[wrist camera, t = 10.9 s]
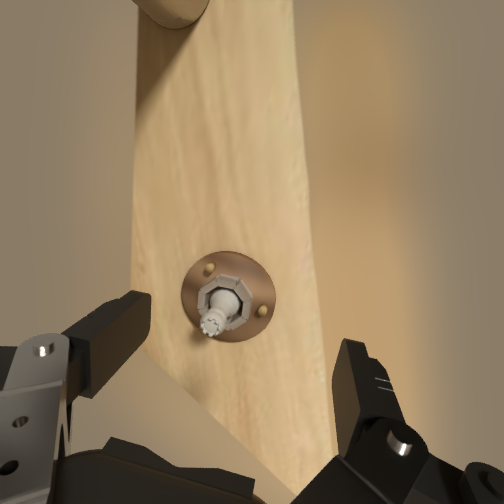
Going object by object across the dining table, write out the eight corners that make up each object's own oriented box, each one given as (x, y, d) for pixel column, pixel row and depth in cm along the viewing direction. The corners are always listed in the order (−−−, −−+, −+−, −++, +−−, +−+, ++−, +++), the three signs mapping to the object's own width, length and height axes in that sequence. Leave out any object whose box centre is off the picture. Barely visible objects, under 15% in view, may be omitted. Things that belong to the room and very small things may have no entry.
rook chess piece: (247, 305, 43) (235, 335, 35) (222, 317, 44) (205, 349, 37) (231, 279, 42) (214, 305, 35) (206, 293, 44) (185, 320, 36)
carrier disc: (188, 243, 43) (179, 248, 40) (283, 261, 41) (281, 268, 38) (182, 326, 48) (173, 337, 44) (267, 346, 46) (264, 358, 43)
